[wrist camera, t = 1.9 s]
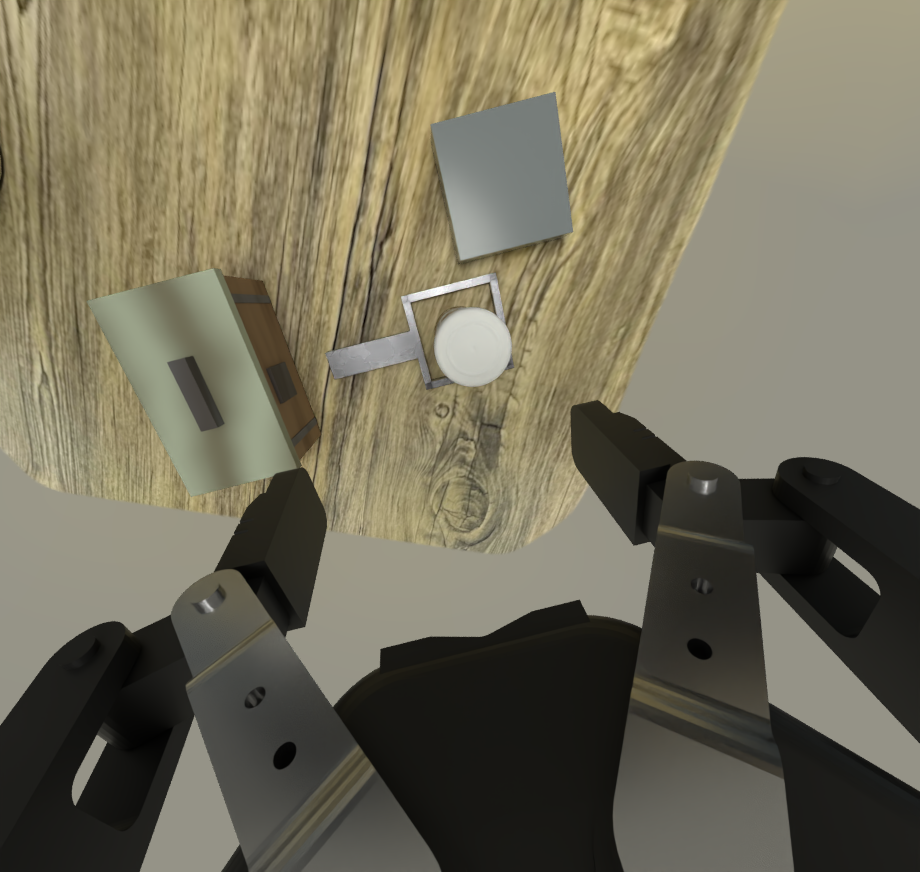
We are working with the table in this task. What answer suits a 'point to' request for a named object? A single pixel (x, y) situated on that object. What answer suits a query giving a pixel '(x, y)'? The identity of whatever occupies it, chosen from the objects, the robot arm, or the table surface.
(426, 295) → the square frame with handle
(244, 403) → the toolbox
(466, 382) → the sprinkles bottle
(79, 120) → the table surface
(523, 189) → the gray rectangular block
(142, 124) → the table surface
